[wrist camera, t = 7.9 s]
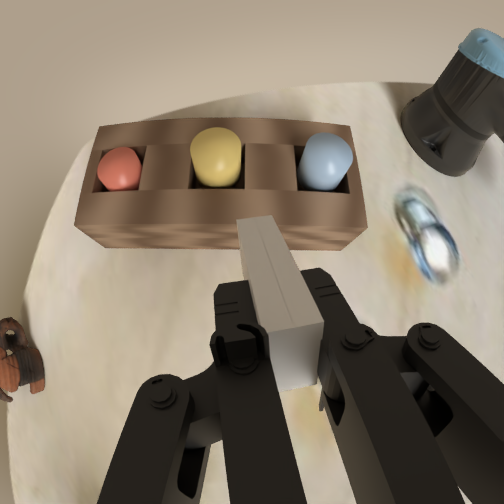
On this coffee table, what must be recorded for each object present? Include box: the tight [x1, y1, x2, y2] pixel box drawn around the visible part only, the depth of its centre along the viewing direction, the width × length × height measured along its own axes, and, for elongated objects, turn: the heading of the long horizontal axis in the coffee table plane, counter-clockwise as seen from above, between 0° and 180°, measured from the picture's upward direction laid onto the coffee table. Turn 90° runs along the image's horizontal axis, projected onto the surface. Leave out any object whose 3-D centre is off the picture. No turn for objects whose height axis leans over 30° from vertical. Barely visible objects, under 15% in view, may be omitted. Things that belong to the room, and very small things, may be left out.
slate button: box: [297, 132, 353, 193], centre depth 27 cm, size 4×4×4 cm
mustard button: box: [190, 127, 241, 189], centre depth 26 cm, size 4×4×4 cm
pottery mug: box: [0, 317, 45, 402], centre depth 26 cm, size 12×10×8 cm
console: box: [74, 118, 368, 251], centre depth 31 cm, size 28×12×8 cm, turn 90°
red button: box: [97, 147, 143, 192], centre depth 28 cm, size 4×4×4 cm
